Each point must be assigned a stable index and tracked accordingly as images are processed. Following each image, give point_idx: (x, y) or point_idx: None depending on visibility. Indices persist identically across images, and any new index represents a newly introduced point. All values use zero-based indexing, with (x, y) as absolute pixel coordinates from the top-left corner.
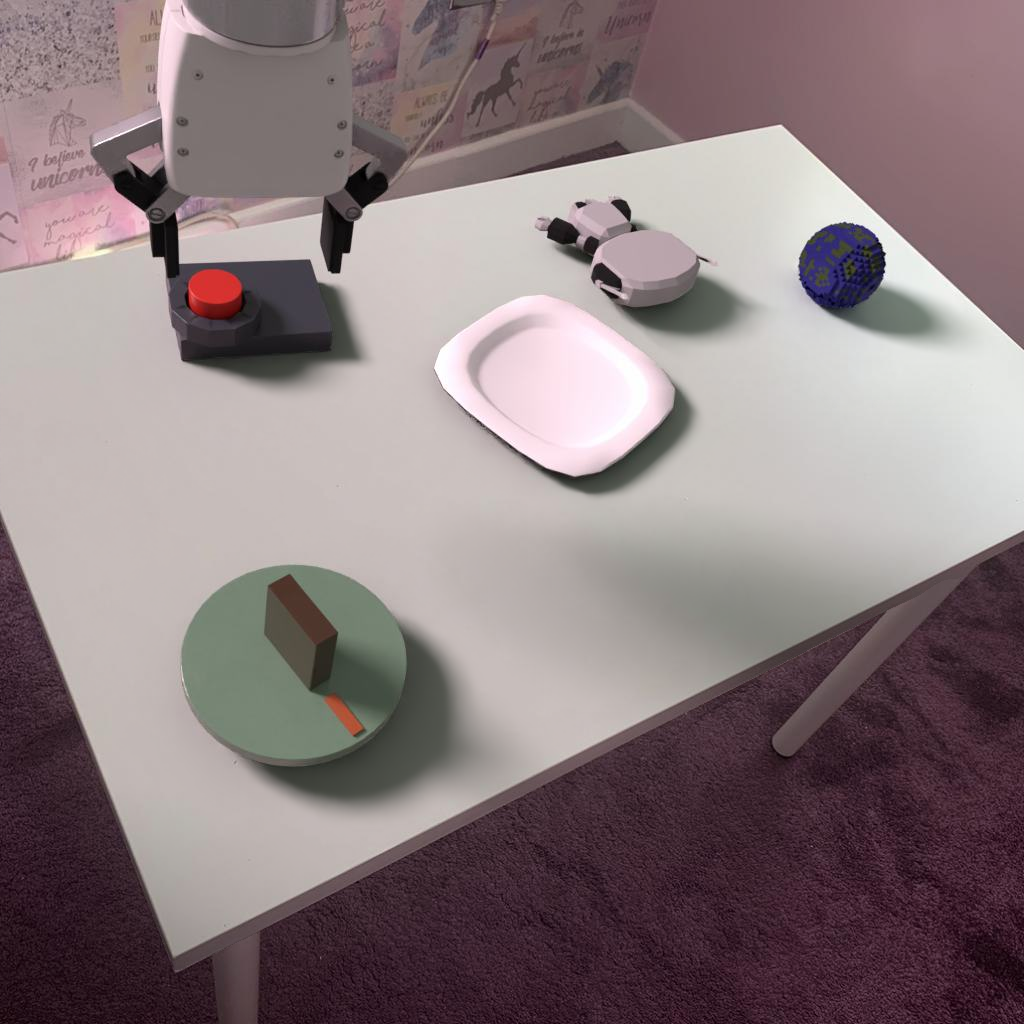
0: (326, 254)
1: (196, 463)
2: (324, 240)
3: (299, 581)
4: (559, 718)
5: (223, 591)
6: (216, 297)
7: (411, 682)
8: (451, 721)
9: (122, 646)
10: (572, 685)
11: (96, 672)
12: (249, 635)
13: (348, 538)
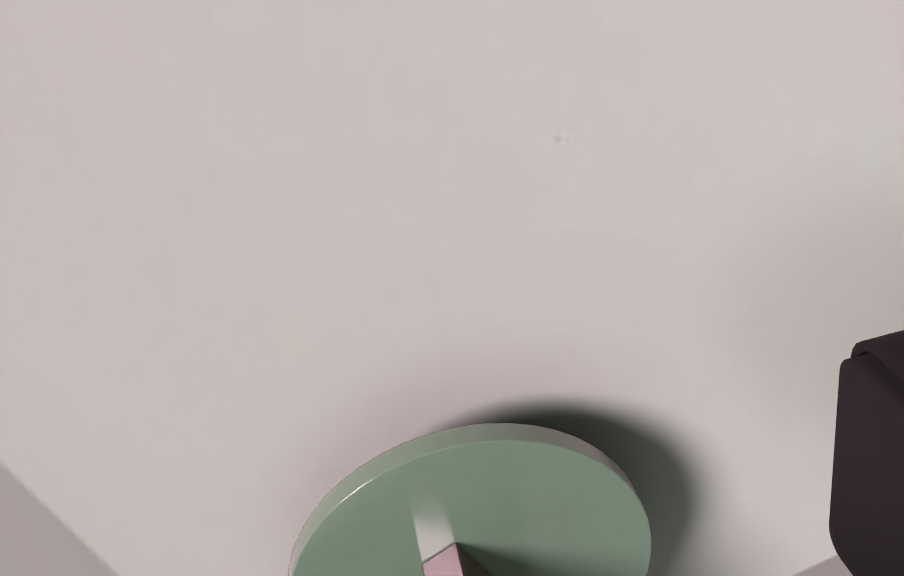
0: (866, 526)
1: (222, 114)
2: (897, 502)
3: (482, 473)
4: None
5: (344, 510)
6: None
7: None
8: (685, 544)
9: (179, 518)
10: None
11: (150, 559)
12: (397, 570)
13: (568, 269)
